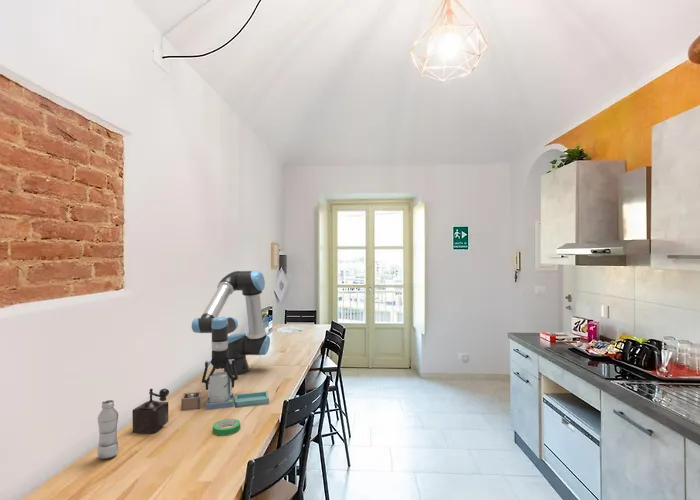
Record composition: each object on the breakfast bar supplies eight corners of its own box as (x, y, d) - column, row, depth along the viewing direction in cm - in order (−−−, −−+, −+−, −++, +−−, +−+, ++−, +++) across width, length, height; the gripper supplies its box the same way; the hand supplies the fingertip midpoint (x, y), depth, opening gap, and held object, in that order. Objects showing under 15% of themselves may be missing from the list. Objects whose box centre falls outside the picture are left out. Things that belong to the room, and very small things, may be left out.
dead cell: (188, 405, 190) (188, 392, 190) (196, 404, 191) (196, 392, 191) (187, 408, 187) (187, 395, 187) (195, 407, 187) (195, 394, 188)
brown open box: (183, 405, 192) (183, 393, 192) (201, 404, 194) (201, 391, 194) (181, 412, 184) (181, 399, 184) (199, 410, 186) (199, 397, 186)
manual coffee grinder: (130, 433, 163) (130, 389, 163) (146, 422, 174) (146, 381, 174) (165, 435, 161) (165, 390, 161) (180, 423, 172) (180, 381, 172)
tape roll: (218, 424, 171) (218, 418, 171) (243, 424, 171) (243, 418, 171) (208, 436, 160) (208, 429, 160) (235, 436, 160) (235, 429, 160)
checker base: (207, 401, 197) (207, 394, 197) (234, 398, 200) (234, 391, 200) (204, 411, 184) (204, 403, 184) (233, 408, 188) (233, 400, 188)
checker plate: (211, 399, 195) (211, 397, 195) (230, 397, 198) (230, 395, 198) (209, 406, 187) (209, 404, 187) (229, 404, 189) (229, 402, 189)
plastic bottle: (103, 452, 147) (102, 399, 147) (122, 451, 147) (121, 398, 147) (93, 462, 140) (93, 405, 140) (113, 460, 141) (112, 404, 141)
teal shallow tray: (235, 399, 199) (235, 394, 199) (267, 396, 204) (267, 391, 204) (235, 407, 189) (234, 402, 189) (268, 403, 193) (268, 398, 193)
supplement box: (223, 403, 188) (223, 376, 188) (209, 402, 189) (208, 375, 189) (230, 397, 195) (230, 371, 195) (217, 396, 196) (216, 371, 197)
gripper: (194, 352, 186) (195, 400, 186) (243, 349, 192) (243, 395, 192) (196, 349, 193) (196, 395, 193) (243, 346, 199) (243, 390, 199)
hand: (220, 395), depth 192 cm, fingers closed on supplement box, 9 cm apart
